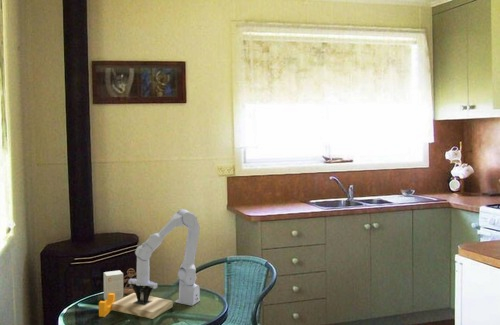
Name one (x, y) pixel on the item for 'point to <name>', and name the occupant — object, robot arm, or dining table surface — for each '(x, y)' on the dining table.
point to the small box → (113, 284)
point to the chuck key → (142, 297)
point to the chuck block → (142, 306)
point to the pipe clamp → (106, 305)
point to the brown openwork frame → (128, 291)
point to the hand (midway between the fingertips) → (142, 301)
